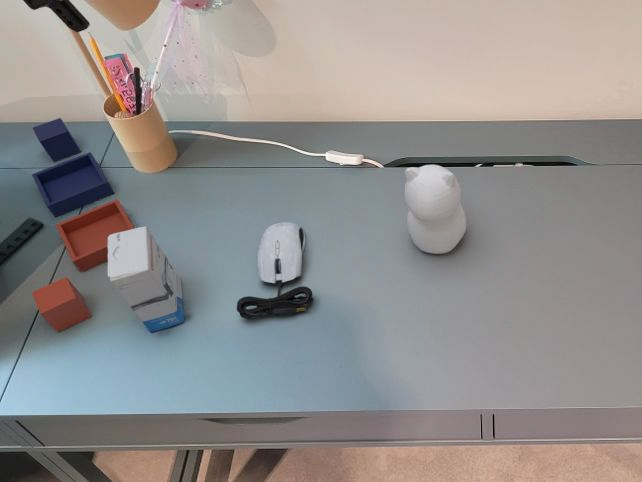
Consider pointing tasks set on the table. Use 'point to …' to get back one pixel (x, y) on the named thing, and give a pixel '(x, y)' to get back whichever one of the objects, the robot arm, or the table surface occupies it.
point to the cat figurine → (434, 208)
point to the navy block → (56, 139)
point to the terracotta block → (61, 304)
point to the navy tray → (72, 184)
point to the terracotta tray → (93, 233)
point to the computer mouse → (279, 271)
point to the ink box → (145, 278)
